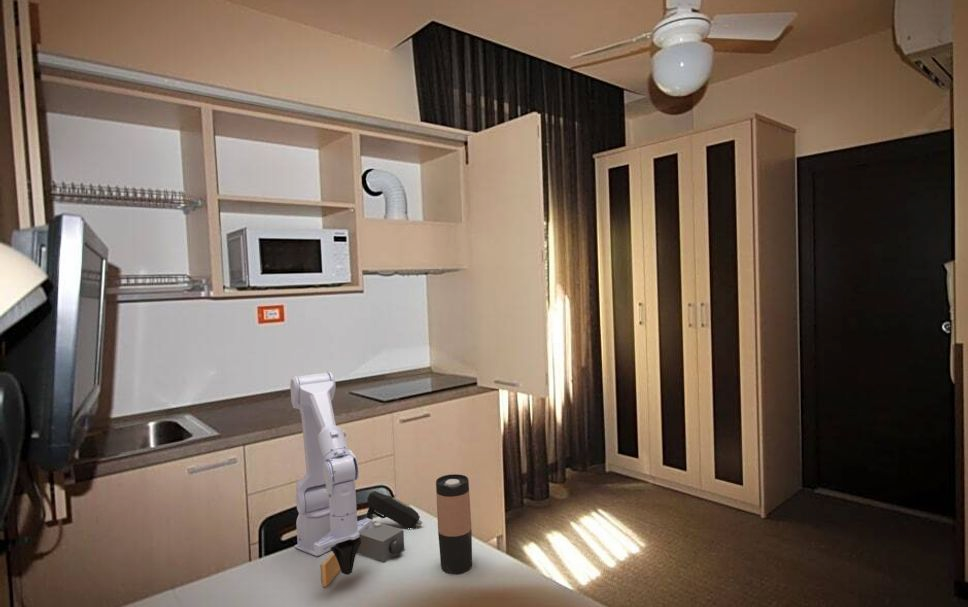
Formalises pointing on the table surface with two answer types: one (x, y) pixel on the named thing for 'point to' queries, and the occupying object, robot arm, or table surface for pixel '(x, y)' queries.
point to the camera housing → (381, 542)
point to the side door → (329, 569)
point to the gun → (392, 510)
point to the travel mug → (454, 523)
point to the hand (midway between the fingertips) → (346, 572)
